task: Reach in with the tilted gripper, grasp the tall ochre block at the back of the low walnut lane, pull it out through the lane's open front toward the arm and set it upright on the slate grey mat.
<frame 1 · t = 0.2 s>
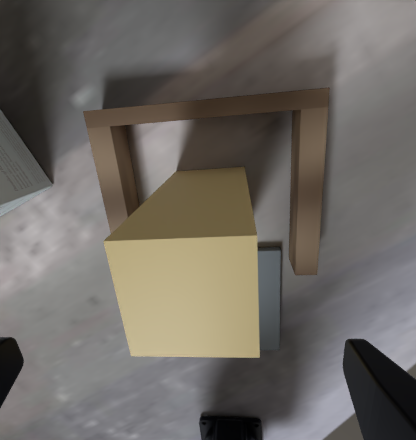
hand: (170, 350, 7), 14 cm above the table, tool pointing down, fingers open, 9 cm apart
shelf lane: (211, 195, 21), on the table
ochre block: (212, 201, 21), on the table
slate mat: (220, 300, 24), on the table
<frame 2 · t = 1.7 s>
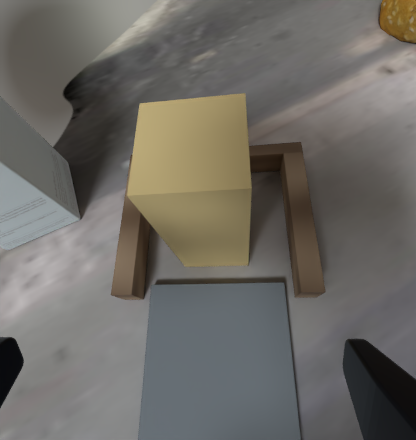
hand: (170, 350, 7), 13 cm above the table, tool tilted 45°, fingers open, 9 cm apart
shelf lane: (216, 230, 23), on the table
supplement box: (41, 205, 26), on the table
ochre block: (216, 236, 23), on the table
slate mat: (217, 357, 19), on the table
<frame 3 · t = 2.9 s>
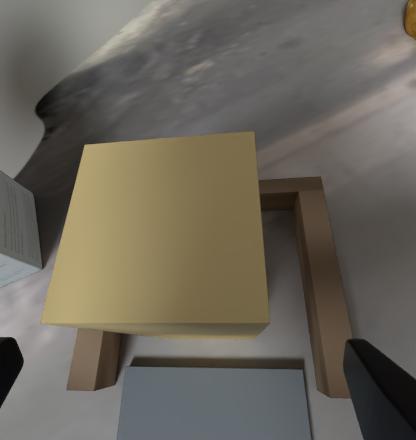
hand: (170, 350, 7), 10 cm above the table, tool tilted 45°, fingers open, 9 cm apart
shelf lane: (212, 288, 18), on the table
ochre block: (212, 296, 18), on the table
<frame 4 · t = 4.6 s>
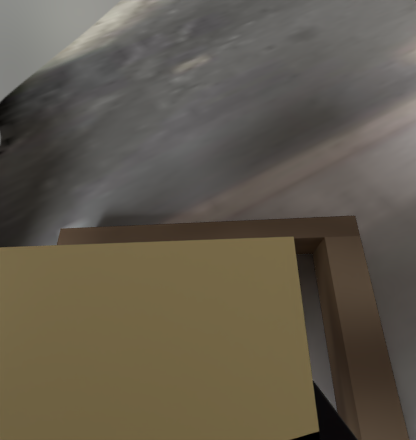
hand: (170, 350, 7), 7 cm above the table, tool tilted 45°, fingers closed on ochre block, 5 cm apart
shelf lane: (204, 369, 13), on the table
ochre block: (203, 381, 13), on the table, touching gripper
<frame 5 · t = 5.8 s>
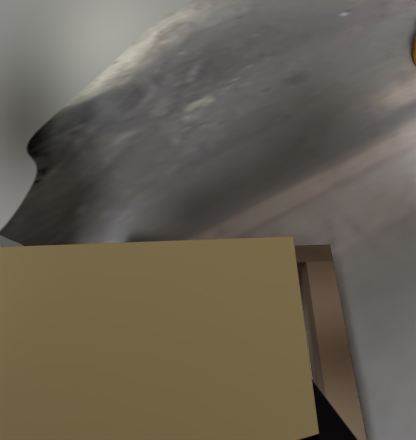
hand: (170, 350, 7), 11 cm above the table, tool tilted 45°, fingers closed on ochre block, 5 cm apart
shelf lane: (213, 363, 17), on the table
ochre block: (203, 381, 13), point 4 cm above the table, touching gripper
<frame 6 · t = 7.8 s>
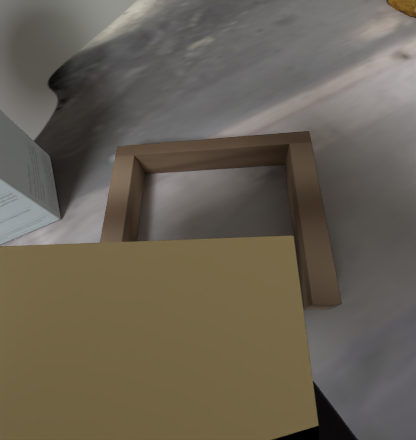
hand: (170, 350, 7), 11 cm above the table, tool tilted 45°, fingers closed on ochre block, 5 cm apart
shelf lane: (212, 231, 20), on the table
supplement box: (18, 203, 24), on the table
ochre block: (203, 381, 13), point 4 cm above the table, touching gripper
when the fingers open (8 cm above the table, at t = 8.9 s): ochre block stays where it is, resting on slate mat.
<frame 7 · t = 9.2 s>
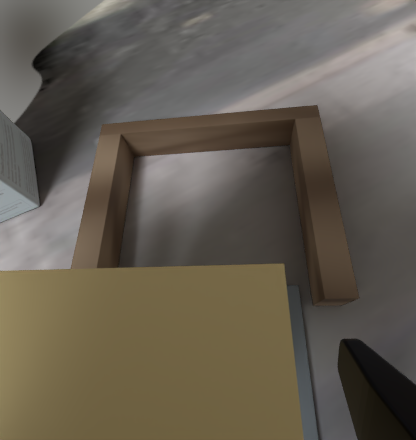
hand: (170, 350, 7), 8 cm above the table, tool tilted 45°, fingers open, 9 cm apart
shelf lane: (208, 218, 18), on the table
ochre block: (206, 379, 14), point 1 cm above the table, touching slate mat
slate mat: (207, 388, 14), on the table
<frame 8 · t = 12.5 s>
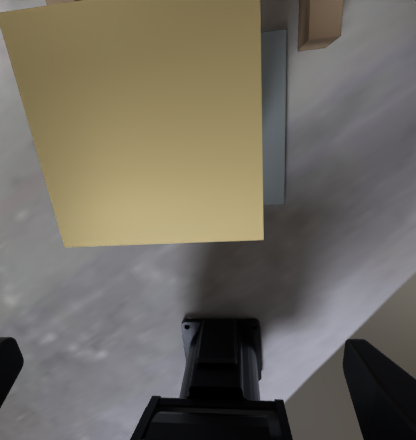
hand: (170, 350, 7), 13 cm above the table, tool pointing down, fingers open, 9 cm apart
ochre block: (203, 124, 17), point 1 cm above the table, touching slate mat
slate mat: (204, 132, 18), on the table
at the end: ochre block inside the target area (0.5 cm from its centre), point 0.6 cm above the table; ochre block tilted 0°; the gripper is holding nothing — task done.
